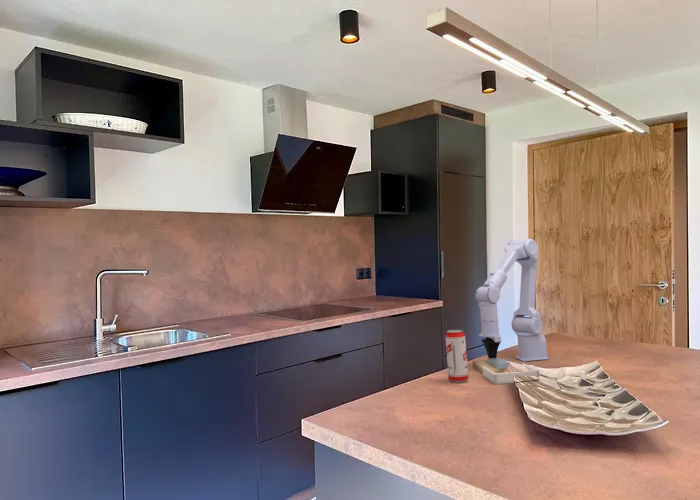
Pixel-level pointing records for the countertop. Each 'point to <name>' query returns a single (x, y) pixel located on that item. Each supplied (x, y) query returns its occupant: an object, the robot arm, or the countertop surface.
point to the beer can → (456, 356)
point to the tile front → (500, 364)
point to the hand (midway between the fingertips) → (492, 359)
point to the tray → (508, 375)
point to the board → (488, 366)
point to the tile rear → (493, 360)
